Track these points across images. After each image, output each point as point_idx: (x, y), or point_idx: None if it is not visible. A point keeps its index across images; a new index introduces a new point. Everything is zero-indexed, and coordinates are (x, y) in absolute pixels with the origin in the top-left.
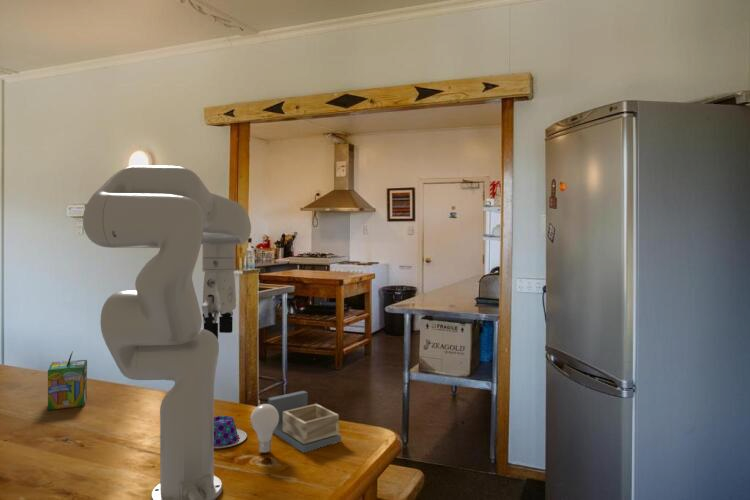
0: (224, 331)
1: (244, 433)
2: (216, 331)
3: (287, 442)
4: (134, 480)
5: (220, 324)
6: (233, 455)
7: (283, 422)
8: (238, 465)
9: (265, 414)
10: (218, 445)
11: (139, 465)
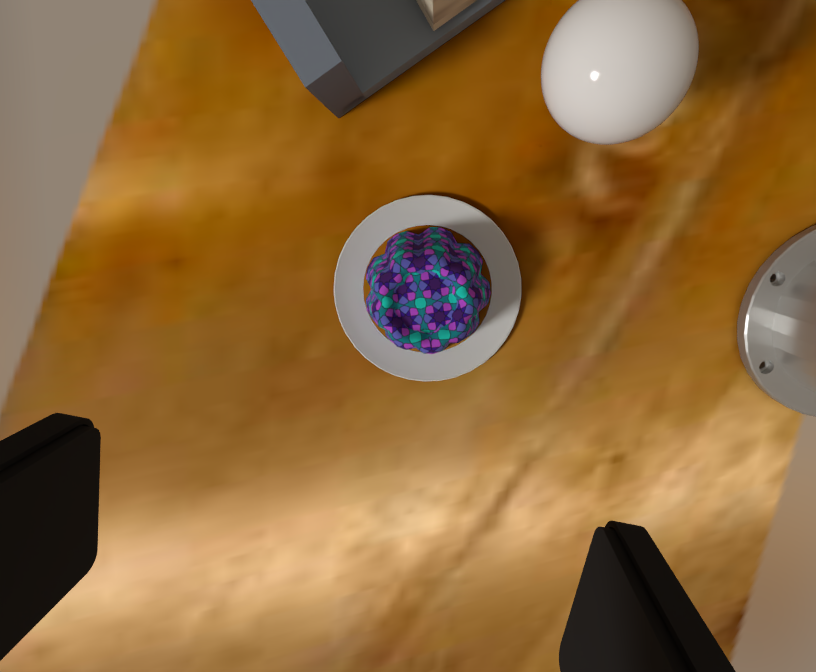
0: (89, 511)
1: (389, 209)
2: (688, 616)
3: (484, 14)
4: (704, 485)
5: (14, 633)
6: (575, 222)
7: (441, 11)
8: (664, 190)
9: (697, 43)
10: (489, 290)
11: (602, 499)
